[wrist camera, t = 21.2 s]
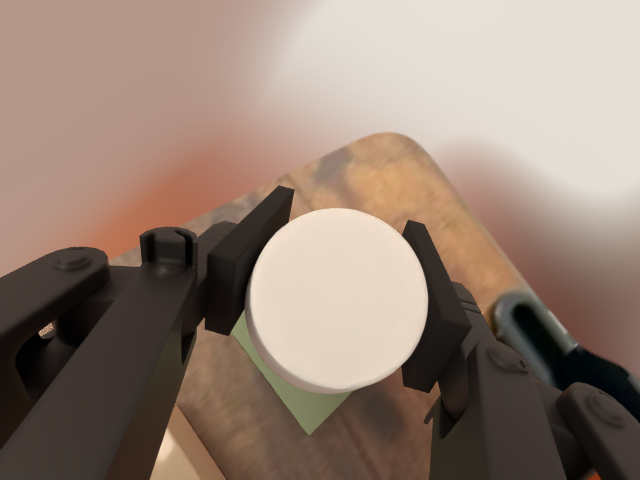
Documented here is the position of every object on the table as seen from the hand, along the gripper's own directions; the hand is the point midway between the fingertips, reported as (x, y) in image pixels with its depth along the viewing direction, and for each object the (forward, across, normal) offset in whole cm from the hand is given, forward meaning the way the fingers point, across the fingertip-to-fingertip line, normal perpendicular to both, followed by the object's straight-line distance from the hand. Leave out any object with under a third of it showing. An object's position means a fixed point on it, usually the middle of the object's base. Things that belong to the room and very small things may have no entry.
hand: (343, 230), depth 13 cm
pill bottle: (0, 0, +5) cm, 5 cm away
